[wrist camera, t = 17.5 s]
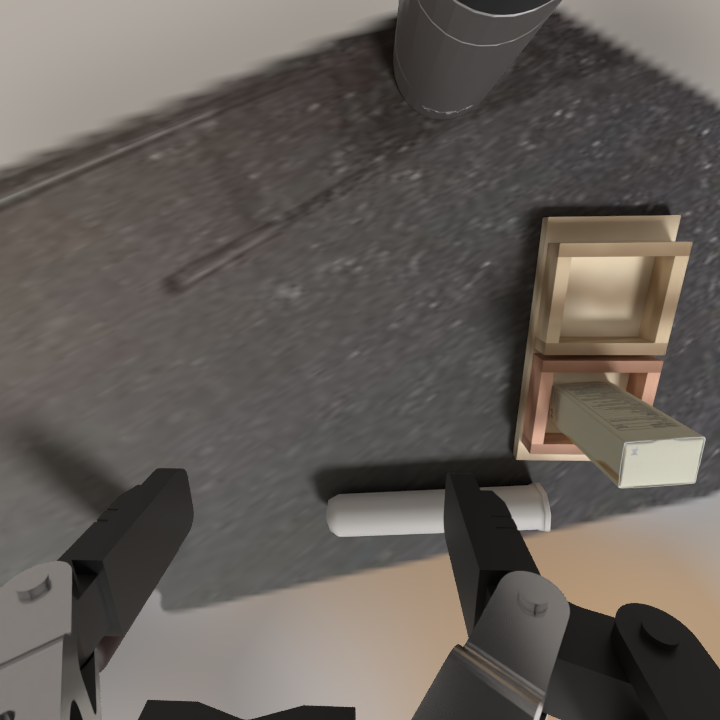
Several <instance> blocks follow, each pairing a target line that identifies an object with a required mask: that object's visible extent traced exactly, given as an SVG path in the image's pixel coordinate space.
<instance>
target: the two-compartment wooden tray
mask: <svg viewBox="0 0 720 720" xmlns="http://www.w3.org/2000/svg"><path fill="white" fill-rule="evenodd" d="M680 217H681V215H664V216H590V217H544V218H543V221H542V229H541V237H540V245H539V253H538V260H537V268H536V276H535V284H534V292H533V300H532V308H531V315H530V323H529V331H528V339H527V347H526V355H525V363H524V370H523V378H522V386H521V394H520V402H519V410H518V418H517V425H516V433H515V441H514V449H513V455H514V457H515V458H516V460H577V461H591V460H590V459H589V458H588V457H587V456H586V455H585V454H584V453H583V452H582V451H581V450H580V449H579V448H578V447H577V446H576V445H575V444H574V443H573V442H572V441H571V440H570V439H569V438H568V437H567V436H566V435H564V434H563V433H562V432H561V431H560V430H559V429H558V428H557V427H556V426H555V425H554V424H553V423H552V422H551V421H550V419H549V416H550V399H551V389H552V385H558V384H568V383H579V382H593V381H610V382H611V383H613V384H615V385H616V386H618V387H620V388H622V389H623V390H625V391H627V392H628V393H630V394H632V395H634V396H635V397H637V398H639V399H640V400H642V401H644V402H646V403H647V404H649V405H651V406H653V402H654V398H655V394H656V390H657V385H658V381H659V377H660V373H661V369H662V365H663V361H662V360H660V359H658V358H655V357H653V356H651V355H665V353H666V349H667V345H668V341H669V336H670V332H671V328H672V324H673V320H674V316H675V312H676V308H677V304H678V300H679V296H680V291H681V287H682V283H683V279H684V275H685V271H686V267H687V263H688V259H689V255H690V251H691V246H692V242H675V239H676V235H677V230H678V226H679V222H680Z"/></svg>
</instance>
